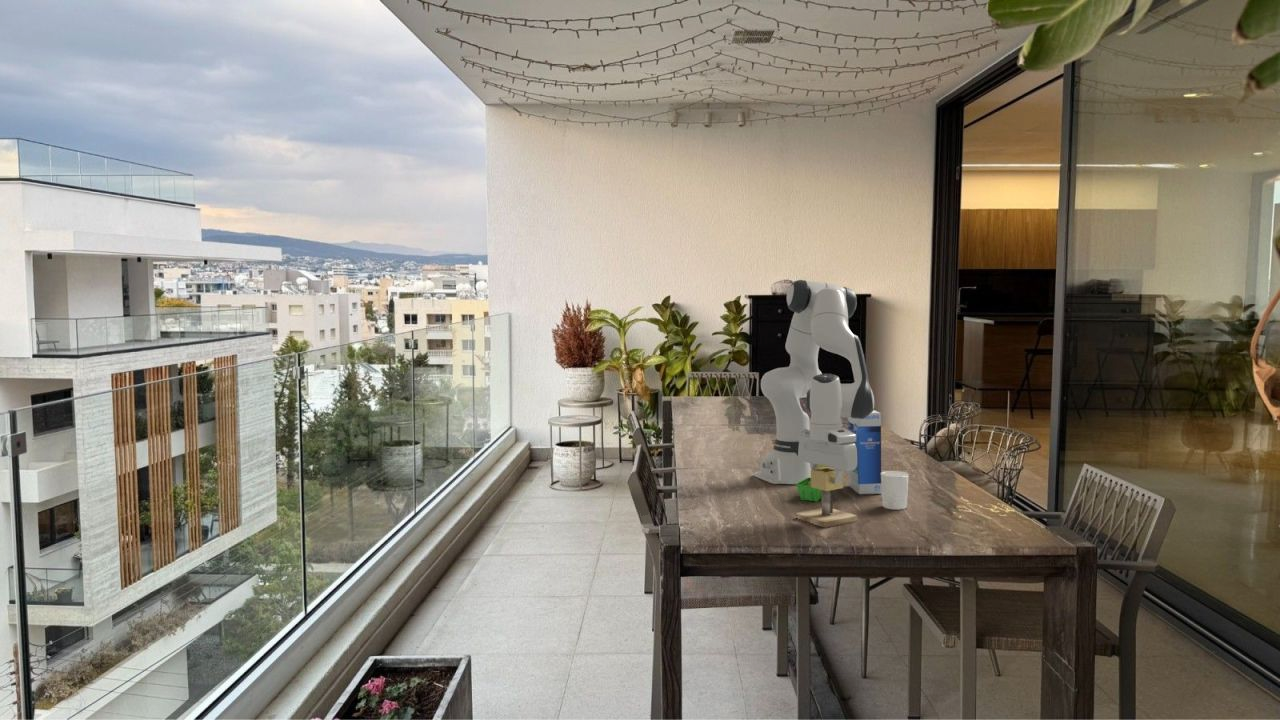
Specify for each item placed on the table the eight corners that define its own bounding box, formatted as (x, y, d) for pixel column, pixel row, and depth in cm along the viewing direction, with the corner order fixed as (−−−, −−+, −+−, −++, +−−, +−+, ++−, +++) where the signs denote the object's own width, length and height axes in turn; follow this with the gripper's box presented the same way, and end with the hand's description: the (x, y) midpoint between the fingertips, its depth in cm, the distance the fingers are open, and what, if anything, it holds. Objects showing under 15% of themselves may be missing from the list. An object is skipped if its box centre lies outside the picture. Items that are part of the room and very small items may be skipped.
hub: (810, 487, 235) (810, 469, 234) (827, 484, 238) (827, 466, 238) (826, 491, 229) (826, 473, 229) (842, 488, 233) (842, 470, 232)
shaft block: (795, 518, 236) (795, 488, 236) (827, 512, 242) (827, 483, 242) (825, 527, 226) (824, 496, 226) (857, 520, 232) (857, 490, 232)
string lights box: (882, 494, 263) (882, 412, 261) (858, 494, 262) (857, 413, 261) (870, 485, 276) (870, 407, 274) (847, 485, 276) (846, 408, 274)
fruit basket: (807, 492, 267) (807, 457, 266) (835, 495, 263) (834, 460, 262) (795, 500, 257) (794, 464, 257) (823, 503, 253) (822, 466, 252)
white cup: (890, 511, 242) (890, 477, 241) (875, 505, 249) (875, 472, 249) (914, 509, 244) (914, 475, 243) (898, 502, 251) (898, 470, 251)
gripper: (792, 429, 240) (793, 476, 241) (843, 438, 222) (844, 489, 223) (809, 427, 243) (809, 474, 244) (860, 436, 226) (861, 486, 227)
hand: (826, 481), depth 234 cm, fingers closed on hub, 6 cm apart
